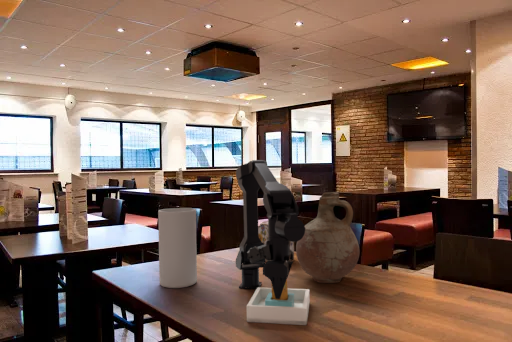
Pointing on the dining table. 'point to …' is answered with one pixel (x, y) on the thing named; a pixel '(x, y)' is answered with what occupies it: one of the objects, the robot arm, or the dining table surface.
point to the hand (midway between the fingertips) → (279, 293)
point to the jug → (328, 242)
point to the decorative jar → (264, 235)
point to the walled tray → (279, 307)
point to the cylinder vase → (177, 247)
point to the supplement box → (284, 293)
